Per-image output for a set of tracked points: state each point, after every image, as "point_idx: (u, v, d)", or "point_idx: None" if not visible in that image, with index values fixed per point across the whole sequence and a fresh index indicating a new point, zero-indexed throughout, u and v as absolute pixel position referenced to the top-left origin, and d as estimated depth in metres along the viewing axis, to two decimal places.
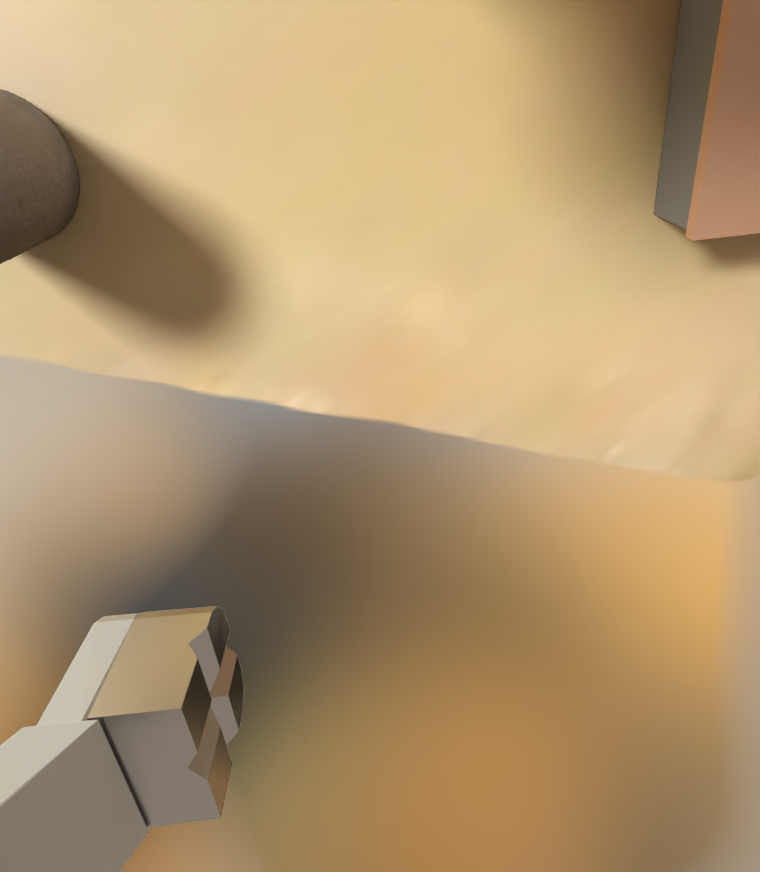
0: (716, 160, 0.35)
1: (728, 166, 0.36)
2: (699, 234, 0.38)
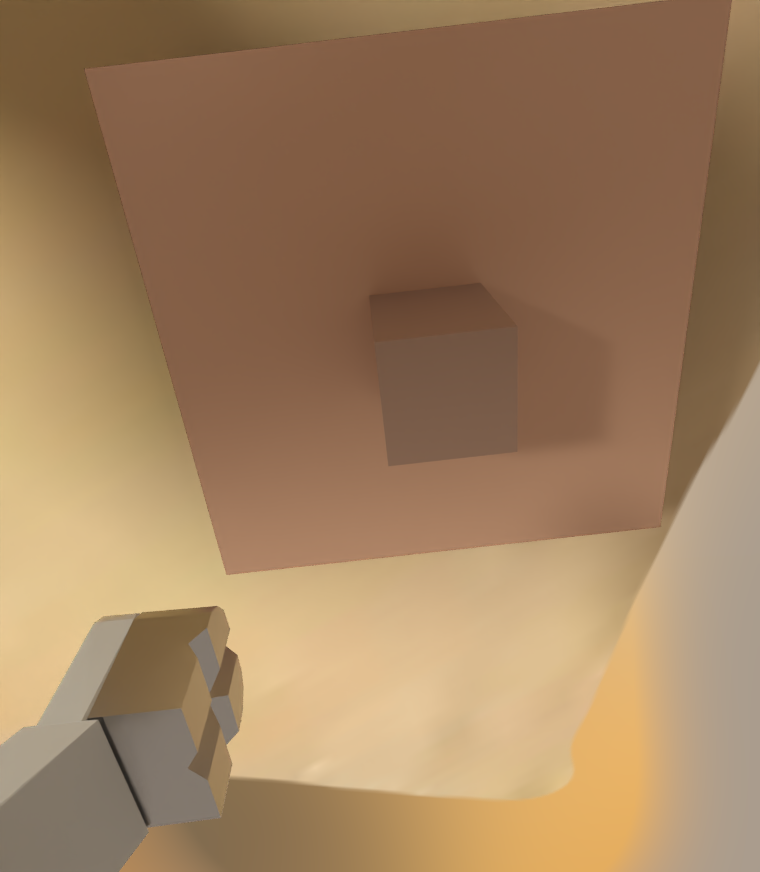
0: (213, 453, 0.18)
1: (242, 462, 0.18)
2: (235, 565, 0.20)
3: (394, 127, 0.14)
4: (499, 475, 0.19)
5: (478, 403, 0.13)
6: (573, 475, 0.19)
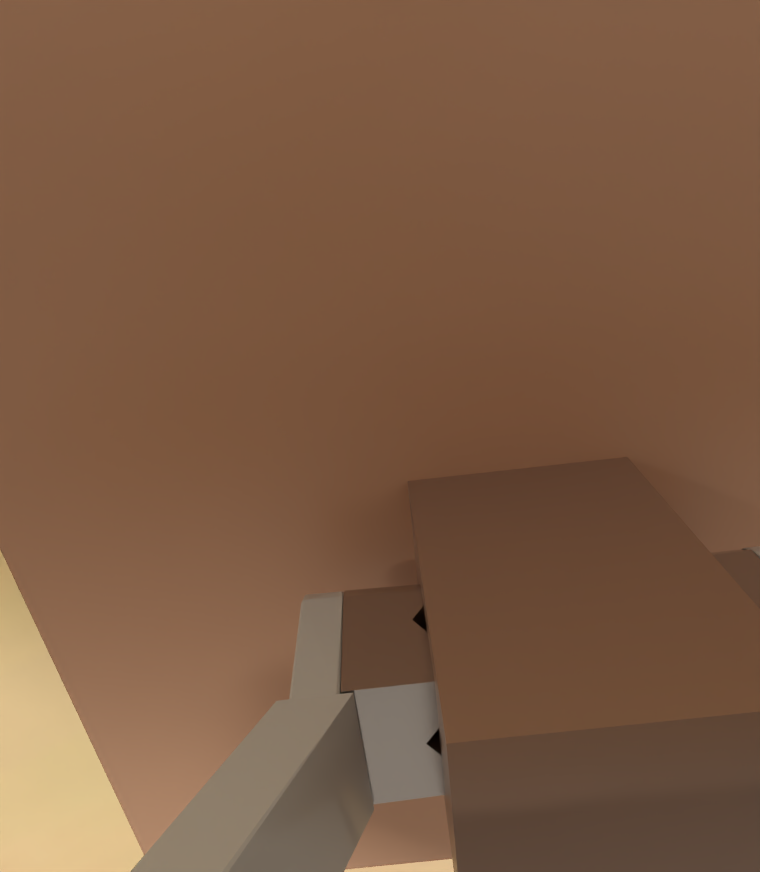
0: (122, 730, 0.10)
1: (175, 741, 0.10)
2: None
3: (472, 157, 0.06)
4: None
5: (698, 846, 0.05)
6: None
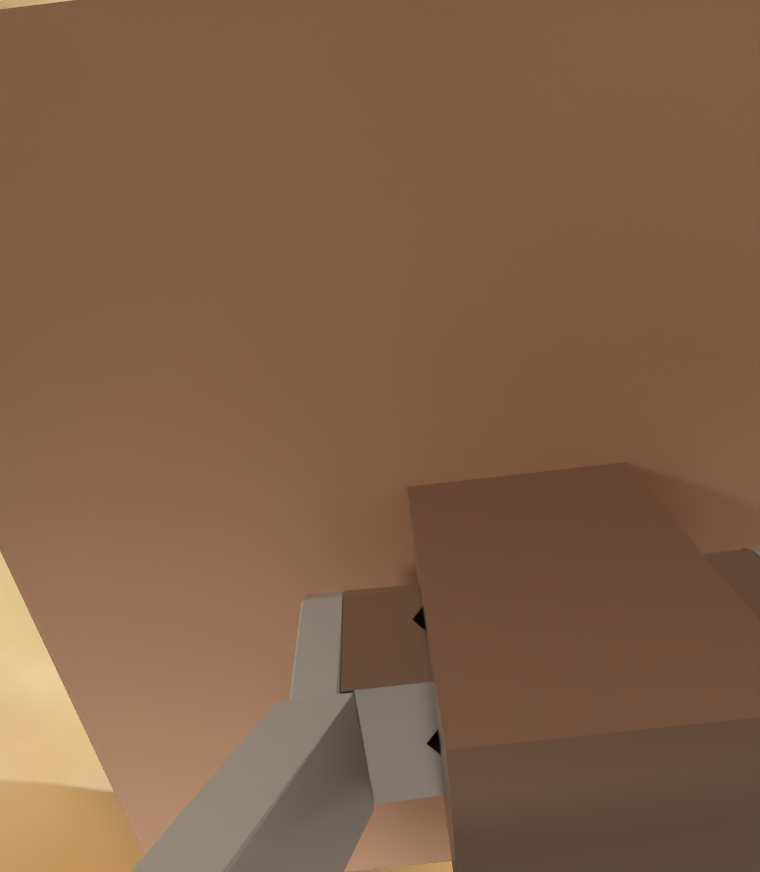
0: (123, 733, 0.10)
1: (176, 745, 0.10)
2: None
3: (470, 168, 0.07)
4: None
5: (694, 849, 0.05)
6: None
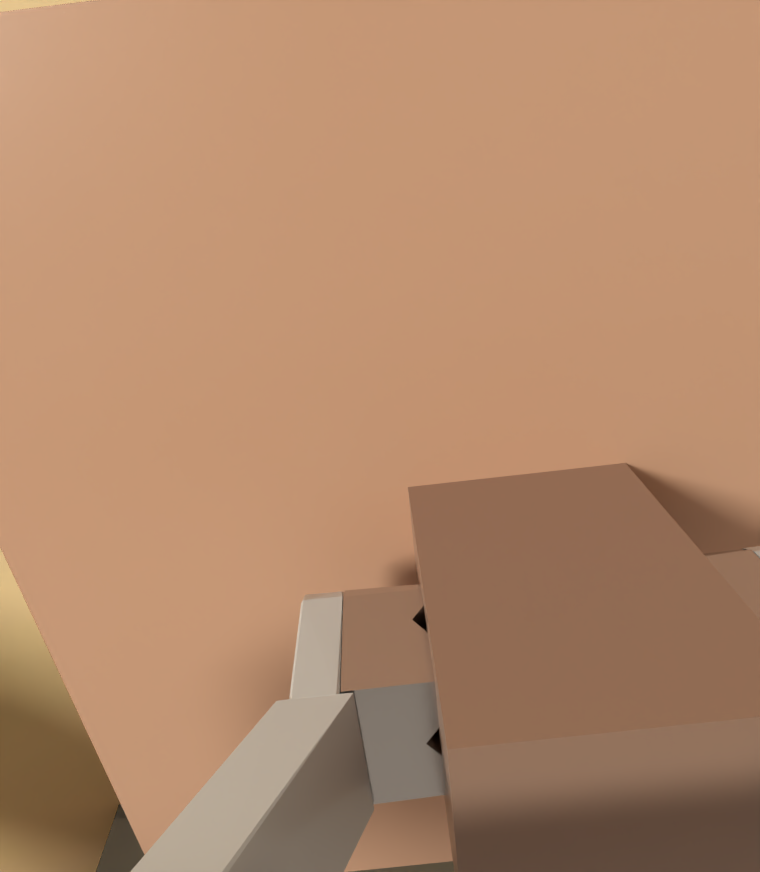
0: (124, 734, 0.10)
1: (176, 745, 0.10)
2: None
3: (472, 169, 0.07)
4: None
5: (694, 849, 0.05)
6: None
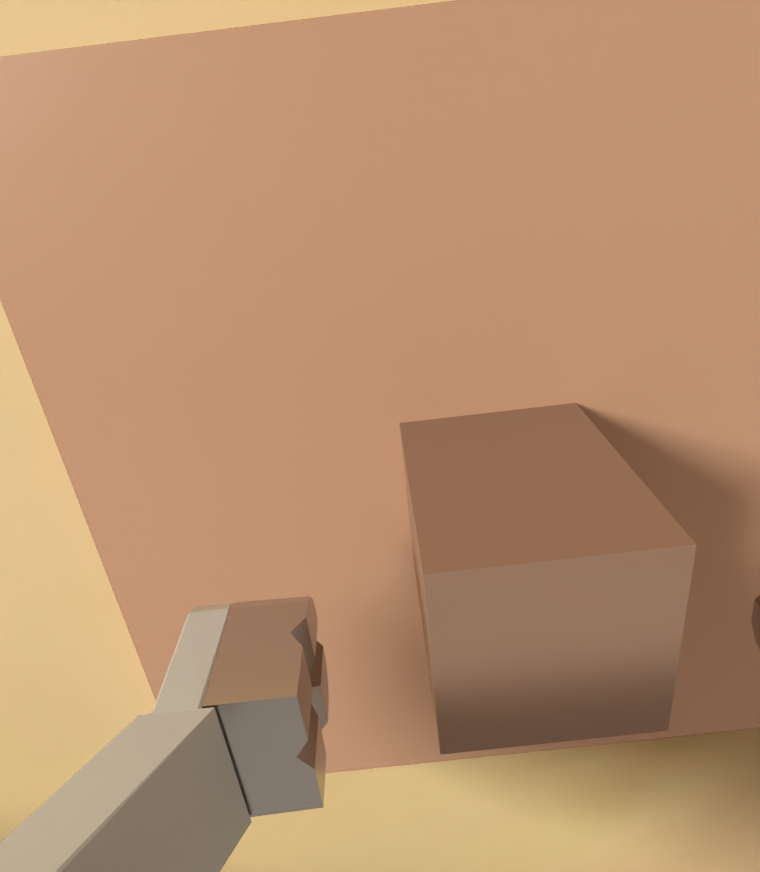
0: (163, 639, 0.12)
1: None
2: None
3: (447, 165, 0.08)
4: None
5: (606, 664, 0.07)
6: (694, 660, 0.13)
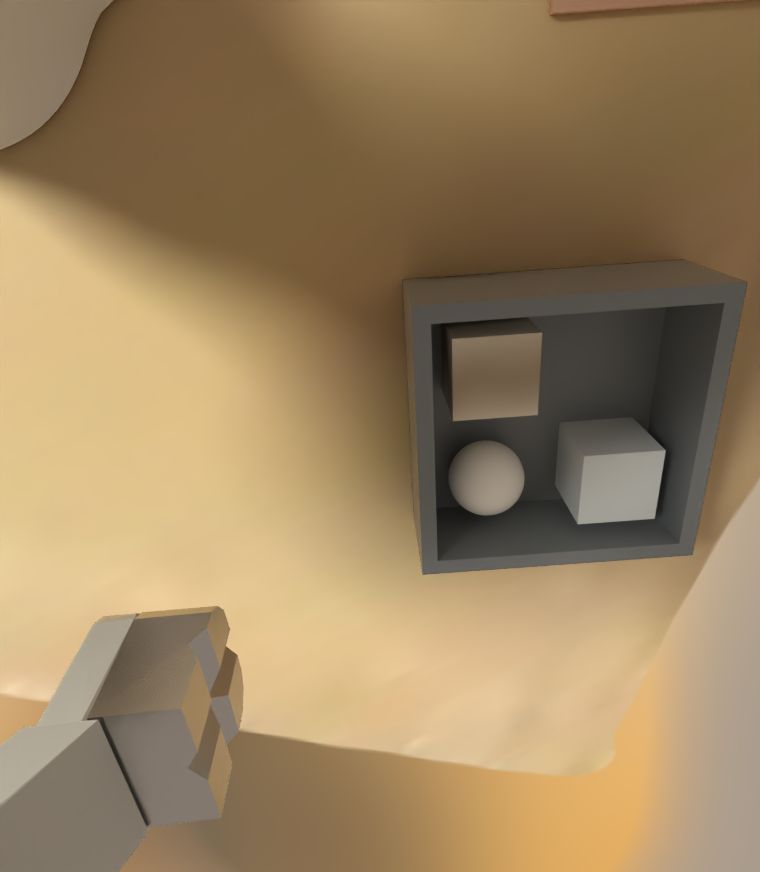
0: None
1: None
2: (561, 2, 0.25)
3: None
4: None
5: None
6: None
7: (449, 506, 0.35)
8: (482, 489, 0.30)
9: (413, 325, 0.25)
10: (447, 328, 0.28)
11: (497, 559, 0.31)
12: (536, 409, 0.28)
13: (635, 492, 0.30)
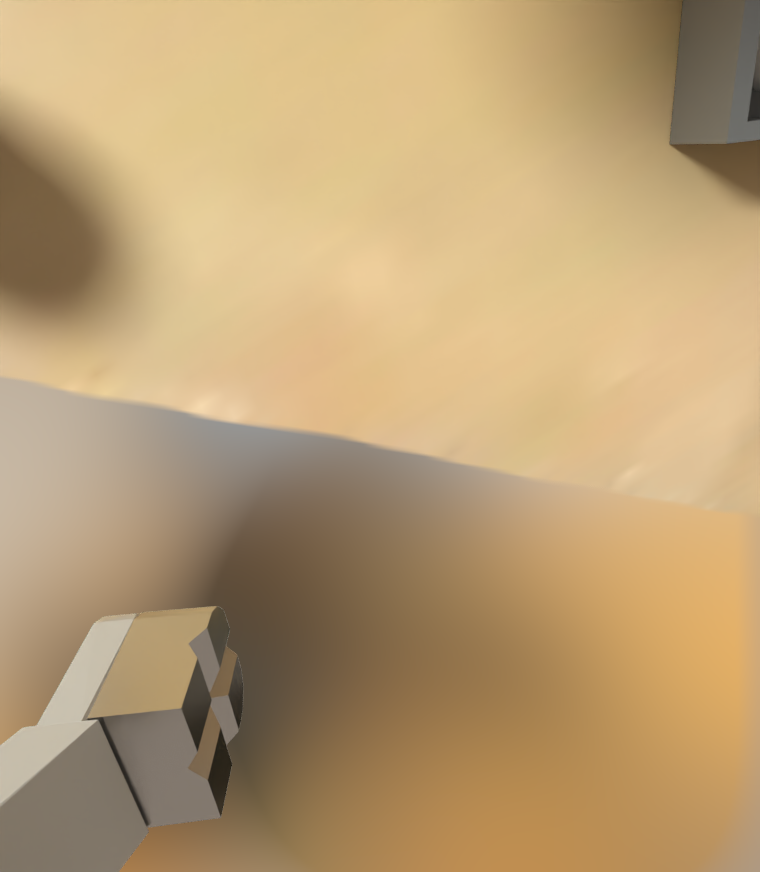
0: None
1: None
2: None
3: None
4: None
5: None
6: None
7: None
8: None
9: None
10: None
11: None
12: None
13: None
